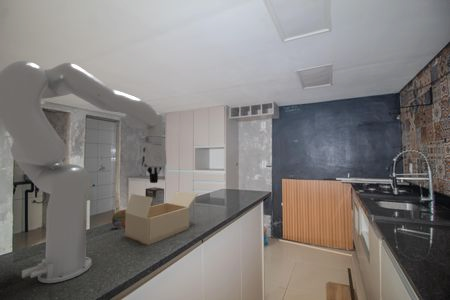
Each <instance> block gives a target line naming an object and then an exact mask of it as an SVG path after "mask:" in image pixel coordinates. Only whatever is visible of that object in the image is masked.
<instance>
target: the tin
mask: <svg viewBox="0 0 450 300" xmlns="http://www.w3.org/2000/svg"><path fill="white" fill-rule="evenodd" d="M125 211H126V209H121V210H119V211H116V212H115V213H114V214H113V216H112V218H111V222H112V225H113V227H114V228H116V229H118V230H119V229H125V218H126V213H125Z"/></svg>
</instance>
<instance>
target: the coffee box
mask: <svg viewBox="0 0 450 300" xmlns="http://www.w3.org/2000/svg"><path fill="white" fill-rule="evenodd" d="M144 196H146V197H151V198H153V199H152V202H151V206H155V205H159V204H163V203H165V188H162V187H155V186H154V187H148V188H145V195H144Z"/></svg>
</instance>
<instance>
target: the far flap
mask: <svg viewBox="0 0 450 300" xmlns="http://www.w3.org/2000/svg"><path fill="white" fill-rule="evenodd" d="M196 197H198V194H197V193H190V192H185V191H176V193H175V194H174V195H173V196H172V197H171V199H170V200H169V201H168V203H171V204H176V205H181V206H186V207H189V208H190V206H191V205H192V204H193V202H194V200H196Z"/></svg>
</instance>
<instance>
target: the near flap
mask: <svg viewBox="0 0 450 300" xmlns="http://www.w3.org/2000/svg"><path fill="white" fill-rule="evenodd" d="M152 199H153V198H151V197H146V196H145V195H140V194H135V193H130V197H129V200H128V203H127V206H126V207H125V208H126V209H125V210H126V211H125V213H128V214H131V215H135V216H138V217H142V218H145V219H147V215H148V212H149V209H150V206H151V202H152Z"/></svg>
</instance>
